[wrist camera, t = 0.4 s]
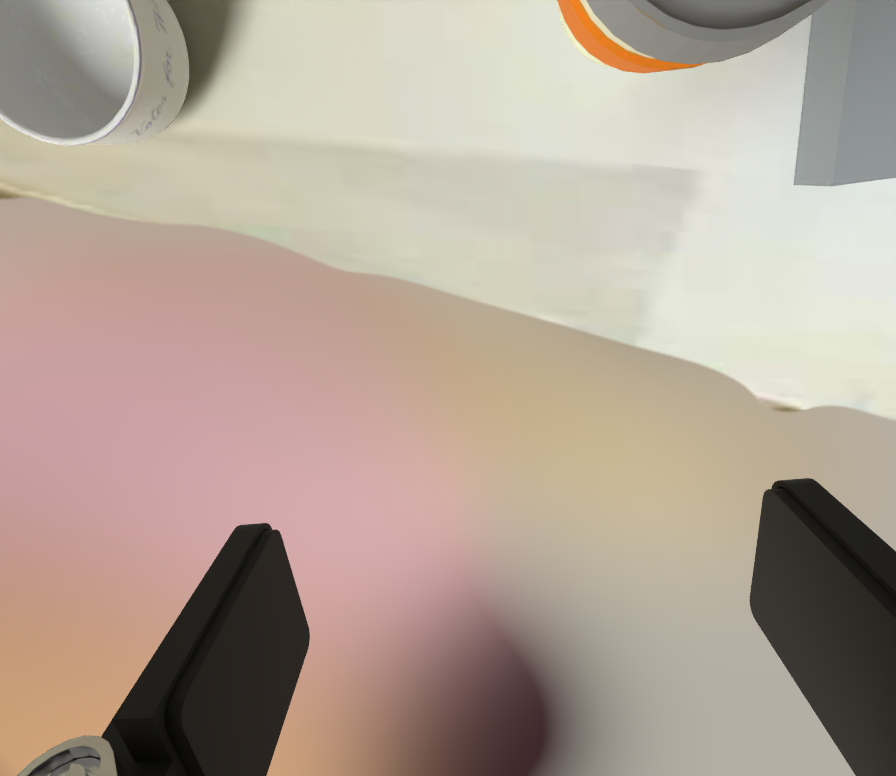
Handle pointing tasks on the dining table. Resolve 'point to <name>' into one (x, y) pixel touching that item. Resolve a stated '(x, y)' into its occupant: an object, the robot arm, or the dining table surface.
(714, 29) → the reusable coffee cup
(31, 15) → the teacup
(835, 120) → the stand
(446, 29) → the dining table surface
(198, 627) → the robot arm
